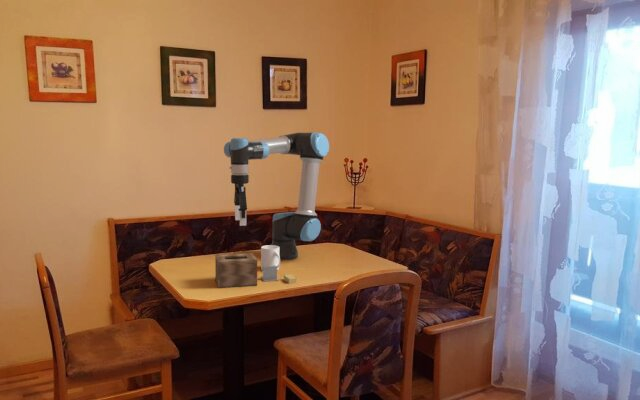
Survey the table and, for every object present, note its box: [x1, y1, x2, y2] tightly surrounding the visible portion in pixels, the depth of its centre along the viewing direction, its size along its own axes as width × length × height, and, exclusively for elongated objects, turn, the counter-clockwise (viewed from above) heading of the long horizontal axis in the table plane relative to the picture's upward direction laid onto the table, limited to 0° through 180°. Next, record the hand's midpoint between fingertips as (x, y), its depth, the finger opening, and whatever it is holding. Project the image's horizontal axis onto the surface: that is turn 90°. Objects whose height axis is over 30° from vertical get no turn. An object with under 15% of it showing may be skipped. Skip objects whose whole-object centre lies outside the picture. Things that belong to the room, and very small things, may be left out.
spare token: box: [283, 273, 298, 285], centre depth 223 cm, size 7×3×2 cm, turn 23°
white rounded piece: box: [260, 244, 281, 271], centre depth 241 cm, size 9×12×11 cm
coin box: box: [214, 252, 258, 289], centre depth 219 cm, size 16×13×11 cm
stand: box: [260, 266, 279, 282], centre depth 226 cm, size 6×6×6 cm
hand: (240, 222), depth 225 cm, fingers open, 13 cm apart
